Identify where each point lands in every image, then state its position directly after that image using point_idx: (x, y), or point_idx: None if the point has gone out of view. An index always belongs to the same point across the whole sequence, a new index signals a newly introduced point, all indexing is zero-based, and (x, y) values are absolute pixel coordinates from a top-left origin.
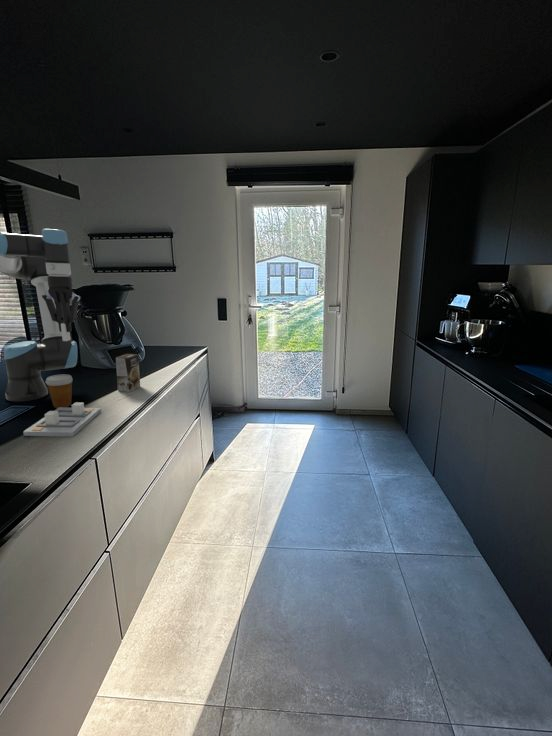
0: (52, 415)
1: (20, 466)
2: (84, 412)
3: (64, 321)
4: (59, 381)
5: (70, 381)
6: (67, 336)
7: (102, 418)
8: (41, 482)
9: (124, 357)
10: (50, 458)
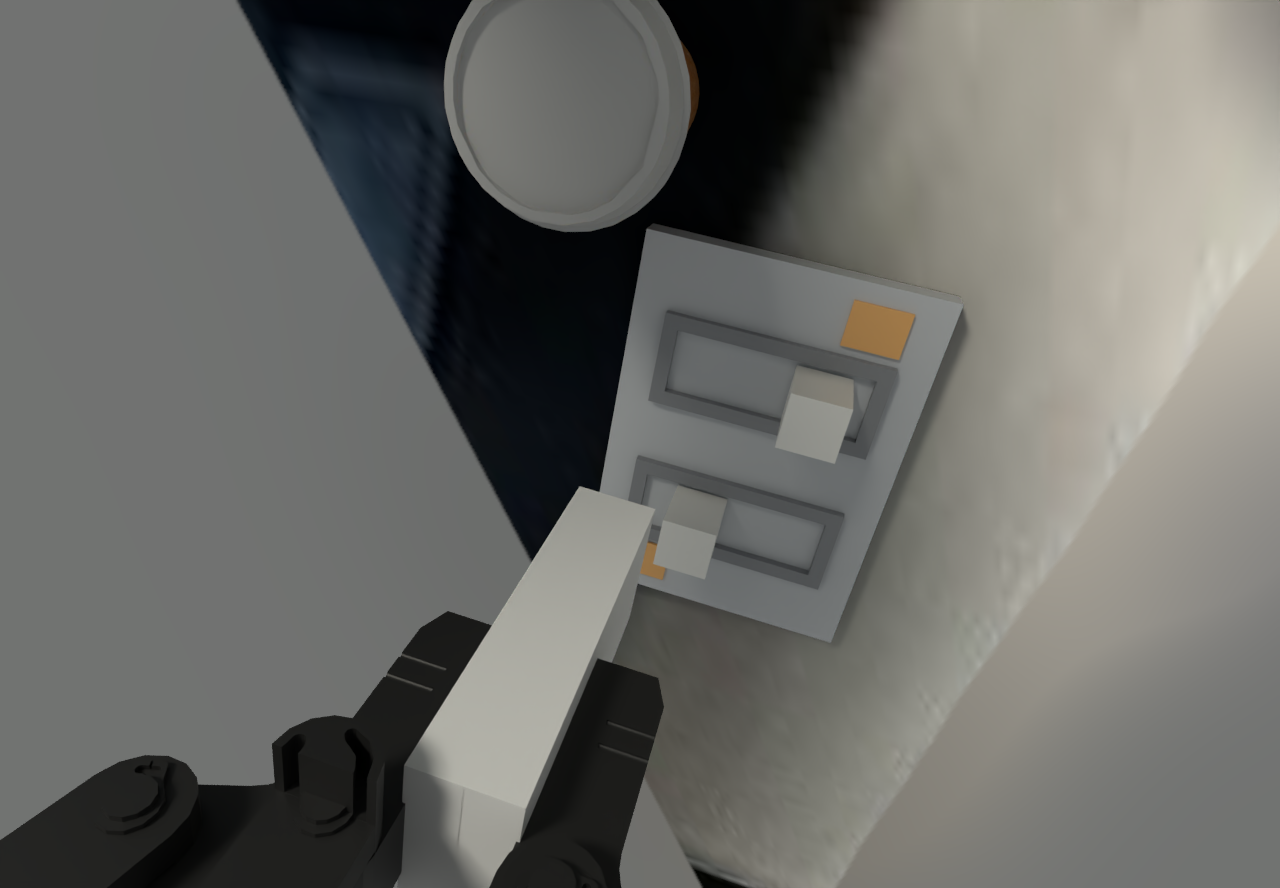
0: (700, 573)
1: (693, 795)
2: (852, 382)
3: (382, 786)
4: (598, 221)
5: (682, 147)
6: (615, 643)
7: (977, 427)
8: None
9: None
10: (782, 780)
